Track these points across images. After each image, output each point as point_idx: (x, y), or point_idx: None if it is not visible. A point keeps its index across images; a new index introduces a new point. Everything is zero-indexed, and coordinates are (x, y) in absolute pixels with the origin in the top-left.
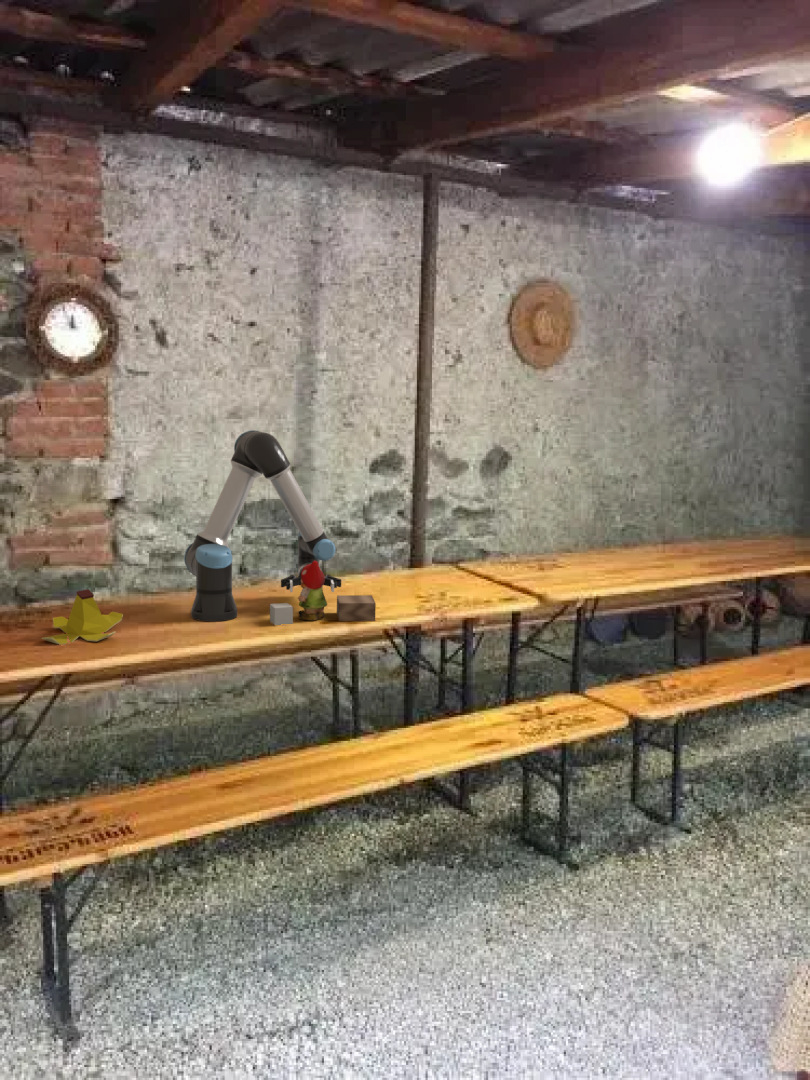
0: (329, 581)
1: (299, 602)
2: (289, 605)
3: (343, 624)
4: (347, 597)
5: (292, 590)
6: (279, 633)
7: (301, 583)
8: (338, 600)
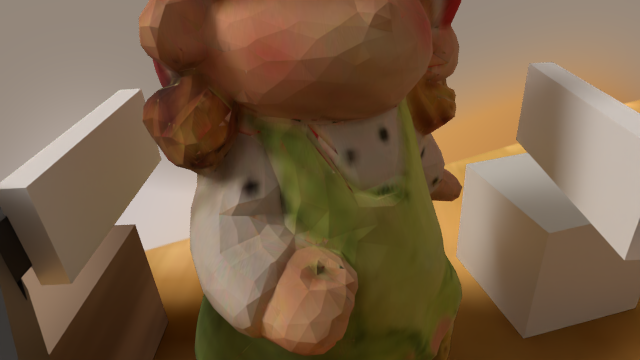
0: (5, 272)
1: (456, 273)
2: (501, 183)
3: (174, 263)
4: None
5: (520, 125)
6: (476, 161)
7: (445, 78)
8: (87, 297)
